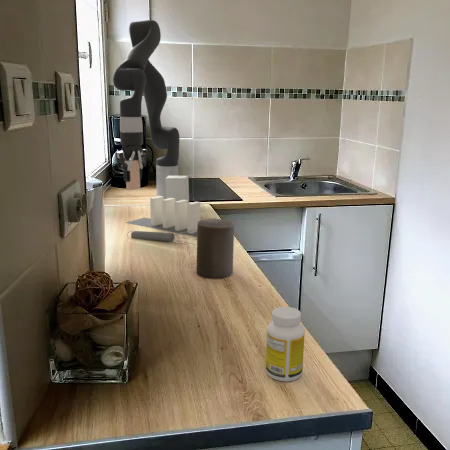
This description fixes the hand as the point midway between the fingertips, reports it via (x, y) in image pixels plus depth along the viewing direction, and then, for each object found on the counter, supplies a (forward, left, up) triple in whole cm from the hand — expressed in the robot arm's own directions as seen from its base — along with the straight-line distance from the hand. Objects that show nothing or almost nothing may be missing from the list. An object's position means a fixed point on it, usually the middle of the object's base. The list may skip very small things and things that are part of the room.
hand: (133, 180), depth 168 cm
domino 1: (0, 0, -3) cm, 3 cm away
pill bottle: (+55, +86, -17) cm, 104 cm away
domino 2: (-8, +4, -17) cm, 19 cm away
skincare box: (-25, 0, -17) cm, 30 cm away
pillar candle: (+21, +49, -17) cm, 56 cm away
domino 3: (-8, +10, -17) cm, 21 cm away
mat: (-8, +9, -17) cm, 21 cm away
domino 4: (-8, +15, -17) cm, 24 cm away
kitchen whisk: (+7, +23, -18) cm, 30 cm away
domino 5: (-8, +21, -17) cm, 28 cm away
